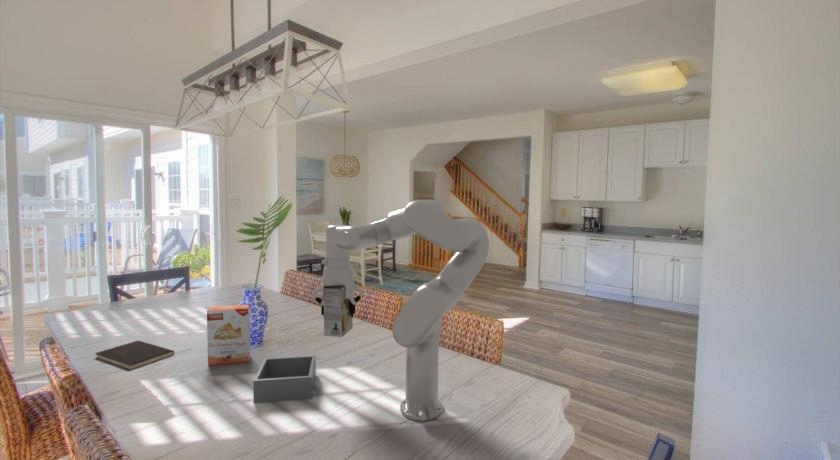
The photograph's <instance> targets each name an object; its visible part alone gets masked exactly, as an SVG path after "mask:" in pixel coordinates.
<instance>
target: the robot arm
mask: <svg viewBox="0 0 840 460" xmlns="http://www.w3.org/2000/svg"><path fill="white" fill-rule="evenodd" d="M415 235H418V236H420V237H421V238H423V239H424V240H427V241H428V242H430V243H432V244H433V245H434V246H437V247H438V248H441V249H442V250H444V251H446V252H449V253H454V254H453V256H451V258H450V259H449V260H448V261H447V262H446V264H445V266H444V267H443V269H442V270H441V271H440V272H439V274H437V276H436V277H434V278H433V279H432V280H430V281H427V282H425V283H423V284H422V285H420V286H419V287H418V288H417V289H416V290H415V291H414V292H413V293H412V294H411V296H410V297H409V298H408V300H407V301H406V303H405V304H404V305H403V307H402V308H401V310H400V311H399V313H398V314H397V315H396V316H395V318H394V321H393V323H392V327H391V328H392V329H391V332H392V333H391V334H392V336H393V339H394V341H395V342H396V343H397V345H399V346H400V347H403V348H406V349H405V350H406V351H405V353H406V354H405V356H406V357H405V399H404V400H402V401H401V403H400V406H399V407H400V408H399V409H400V412H401V414H402V416H404V417H405V418H407V419H409V420H414V421H422V422H424V421H430V420H434V419H437V418H439V417H440V415H442V413H443V411H444V409H443V407H444V406H443V403H442V402H441V400H438V399H439V359H440V358H439V357H440V355H439V353H440V352H439V351H440V339H441V333H442V326H443V325H442V323H443V321H442V316H443V315H445V314H447V313H448V312H450V311H451V310H452V309H453V308H454V307H455V306H456V305H457V303H458V301H460V299H461V297H462V295H463V294H464V293H465V291H467V289H468V288H469V287H470V285H471V284H472V282H473V281H474V279H475V278H476V277H477V275H478V274H479V272H480V271H481V270H482V268H483V267H484V265H485V263H486V261H487V258H488V255H489V250H490V240H489V236H488V233H487V230H486V228H485V226H484V225H483V224H482V223H481V222H480V221H479V220H477V219H475V218H472V217H463V218H456V219H455V218H454V217H452V216H450V215H448V214H446V209H445V207H444V206H443V204H442V203H441V202H440V201H437V200H435V199H415V200H412V201H411V202H409V203H408V204H407V205H406V206H405V207H401V208H399V209H396V210H392V211H390V212H389V213H388V214H387V216H386V217H385V218H383V219H380V220H377V221H374V222H370V223H364V224H357V225H347V224H329V225H328V226H326V228H325V258H324V259H321V264H322V265H324V266H325V267H323V271H322V279H321V280H322V281H321V286H319V287H317V288H316V289H315V290H313V291H312V292H311V296H312V297H313V298H314V300H315V301H316V302H317V303H318V304H319V305H320V307H321V316H324V286H345V288H346V299H349V300H350V301H351V317H353V318H354V315H355V314H356V305H357V303H359V301H360V300H361V299H362V297H363V296H364V295H365V292H366V291H365V290H364V289H363V288H361V287H359V286H358V285H356V284H355V276H354V275H355V274H354V270H353V269H354V268H353V266H351V251H358V250H362V249H367V248H372V247H376V246H380V245H382V244H386V243H388V242H392V241H399V240H401V239H405V238H409V237H412V236H415ZM355 291H356V292H357V293H358V295H357V296H356V297H354V296H355ZM319 293H321V297H320V296H319V295H318V294H319Z"/></svg>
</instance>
